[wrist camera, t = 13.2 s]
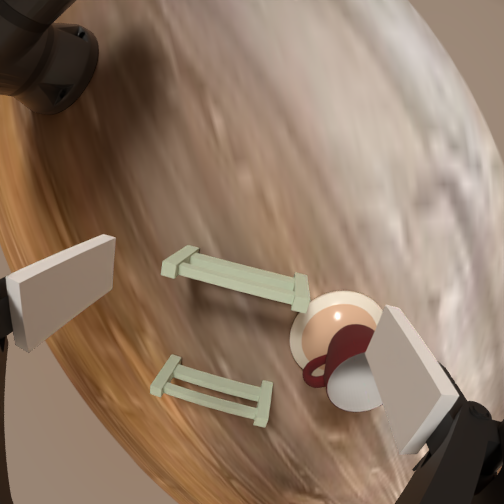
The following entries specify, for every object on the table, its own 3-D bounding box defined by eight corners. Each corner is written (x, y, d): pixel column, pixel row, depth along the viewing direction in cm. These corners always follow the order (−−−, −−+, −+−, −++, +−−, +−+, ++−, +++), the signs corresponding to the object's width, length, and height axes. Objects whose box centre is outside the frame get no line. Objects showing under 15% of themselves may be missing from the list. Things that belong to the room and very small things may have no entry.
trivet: (278, 366, 40) (278, 369, 39) (305, 279, 37) (306, 281, 36) (365, 382, 39) (366, 386, 38) (400, 302, 36) (403, 305, 35)
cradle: (171, 361, 42) (150, 393, 35) (188, 244, 38) (162, 260, 30) (270, 390, 41) (265, 427, 34) (307, 275, 37) (310, 299, 29)
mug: (318, 380, 39) (322, 430, 29) (291, 335, 38) (289, 382, 28) (388, 346, 37) (410, 391, 27) (367, 298, 36) (389, 336, 26)
